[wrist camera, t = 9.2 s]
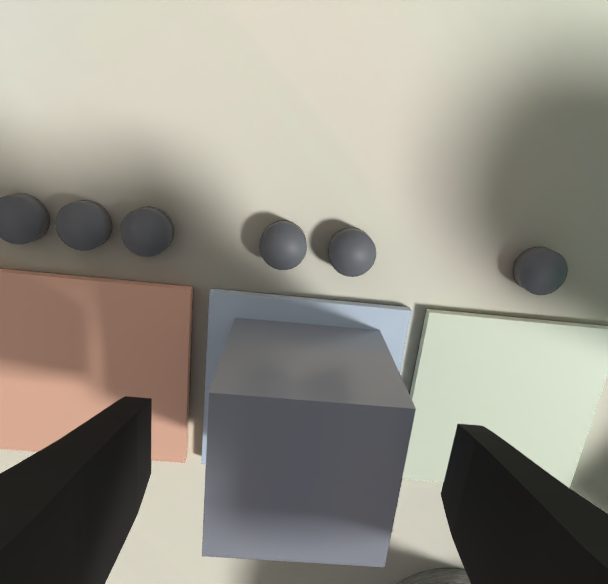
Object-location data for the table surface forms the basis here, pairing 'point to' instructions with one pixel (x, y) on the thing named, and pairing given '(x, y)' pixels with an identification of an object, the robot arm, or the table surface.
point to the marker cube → (304, 445)
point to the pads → (237, 304)
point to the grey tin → (438, 577)
